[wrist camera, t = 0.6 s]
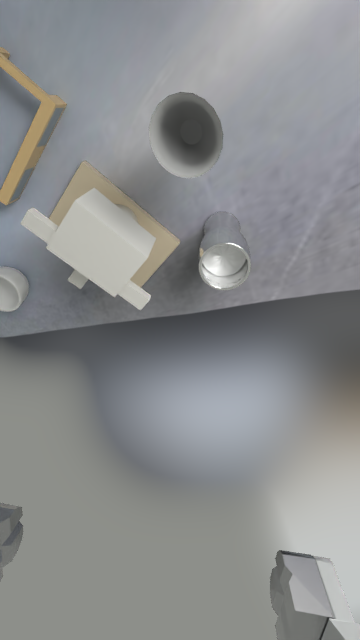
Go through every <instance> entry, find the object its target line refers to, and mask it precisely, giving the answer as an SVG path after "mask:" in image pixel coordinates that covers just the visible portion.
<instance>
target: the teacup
mask: <svg viewBox="0 0 360 640" xmlns="http://www.w3.org/2000/svg"><path fill="white" fill-rule="evenodd" d="M28 292H29V283H28V281H27V279H26V277H25V276H24V275H23V274H22V273H21V272H20V271H19V270H17V269H15V268H12V267H0V310H1V311H5V312H10V311H14V310H16V309H17V308H18V307H19V306H20V305H21V304H22V303H23V301H24V300H25V299H26V297H27V295H28Z"/></svg>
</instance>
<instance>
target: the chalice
mask: <svg viewBox="0 0 360 640" xmlns="http://www.w3.org/2000/svg"><path fill="white" fill-rule="evenodd" d="M149 139H150V144H151V147H152V150H153V153H154V155H155V157H156V158H157V160H158V162H159V163H160V165H162V166H163V167H164V168H165V169H166V170H167V171H168V172H169V173H172V174H174V175H176V176H178V177H182V178H194V177H199V176H202V175H203V174H205V173H206V172H208V171H209V170H211V168H212V167H213V166H214V164H215V163H216V162H217V161H218V158H219V156H220V153H221V150H222V144H223V132H222V127H221V122H220V120H219V118H218V116H217V114H216V112H215V110H214V108H213V107H212V106H211V105H210V104H209V103H208V102H207V101H206V100H205V99H203V98H201V97H199V96H197V95H195V94H193V93H185V92H179V93H176V94H172V95H169V96H168V97H166V98H165V99H164V100H163V101H161V102H160V103H159V104H158V106H157V107H156V109H155V111H154V112H153V114H152V117H151V121H150V126H149Z"/></svg>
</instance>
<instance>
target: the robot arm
mask: <svg viewBox="0 0 360 640" xmlns="http://www.w3.org/2000/svg"><path fill="white" fill-rule="evenodd" d="M21 517H22V507H19V506H14V505H9V504H4V503H0V580H1V578H2V577H3V571H2V568H3V567H4V566H5V565H7V564H8V563H9V562H11V561H12V560H13V558H14V556H15V554H16V553H17V551H18V548H19V546H20V543H21V540H22V535H23V525H22V524H21V523H20V521H19V520H20V518H21ZM275 559H276V564H277V566H276V567H275V568H273V569H272V573H271V577H270V596H271V603H272V608H273V609H274V610H275V612H276V614H277V615H278V619H277V622H276V625H275V627H276V633H277V639H278V640H360V624H359V623H355V621H354V619H353V616H352V613H351V611H350V608H349V605H348V602H347V600H346V597H345V594H344V592H343V589H342V587H341V584H340V581H339V578H338V576H337V573H336V571H335V568H334V565H333V563H332V561H331V560H330V559H329V558H324V557H317V556H311V555H307V554H302V553H294V552H289V551H282V550H279V551H278V552H277V555H276V558H275Z"/></svg>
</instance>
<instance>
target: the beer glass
mask: <svg viewBox="0 0 360 640" xmlns="http://www.w3.org/2000/svg"><path fill="white" fill-rule="evenodd" d="M198 262H199V273H200V276H201V278H202V279H203V281H204V282H205V283H206V284H207V285H208V286H210V287H212V288H214V289H217V290H231V289H234V288H236V287H238V286H240V285H241V284H242V283H243V282H244V281H245V280H246V279H247V277H248V276H249V273H250V270H251V261H250V251H249V246H248V243H247V241H246V239H245V237H244V236H243V234H242V233H241V227H240V223H239V221H238V219H237V218H236V217H235V216H234V215H233V214H231V213H229V212H217V213H215V214H213V215H211V216H210V217H209V218H208V219H207V221H206V223H205V225H204V237H203V239H202V241H201V244H200V247H199V253H198Z"/></svg>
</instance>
